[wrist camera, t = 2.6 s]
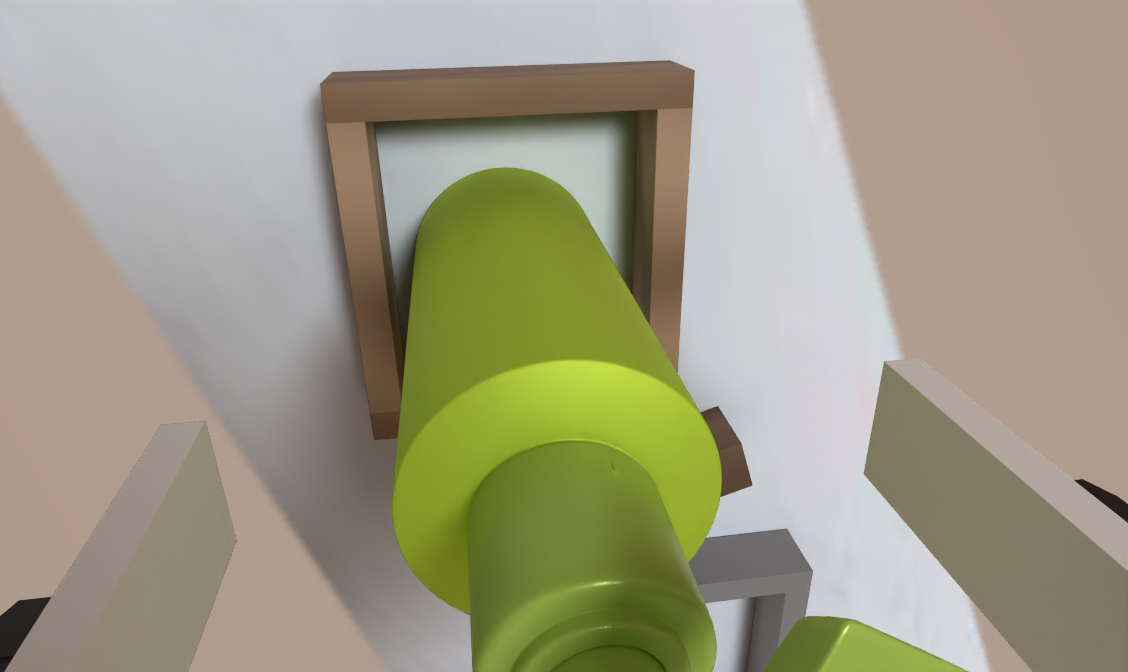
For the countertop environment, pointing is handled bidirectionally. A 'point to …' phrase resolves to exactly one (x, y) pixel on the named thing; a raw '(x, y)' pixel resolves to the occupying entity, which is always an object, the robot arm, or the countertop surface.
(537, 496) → the soap dispenser
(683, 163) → the walnut holder
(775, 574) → the keeper frame
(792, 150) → the countertop surface
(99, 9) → the countertop surface
